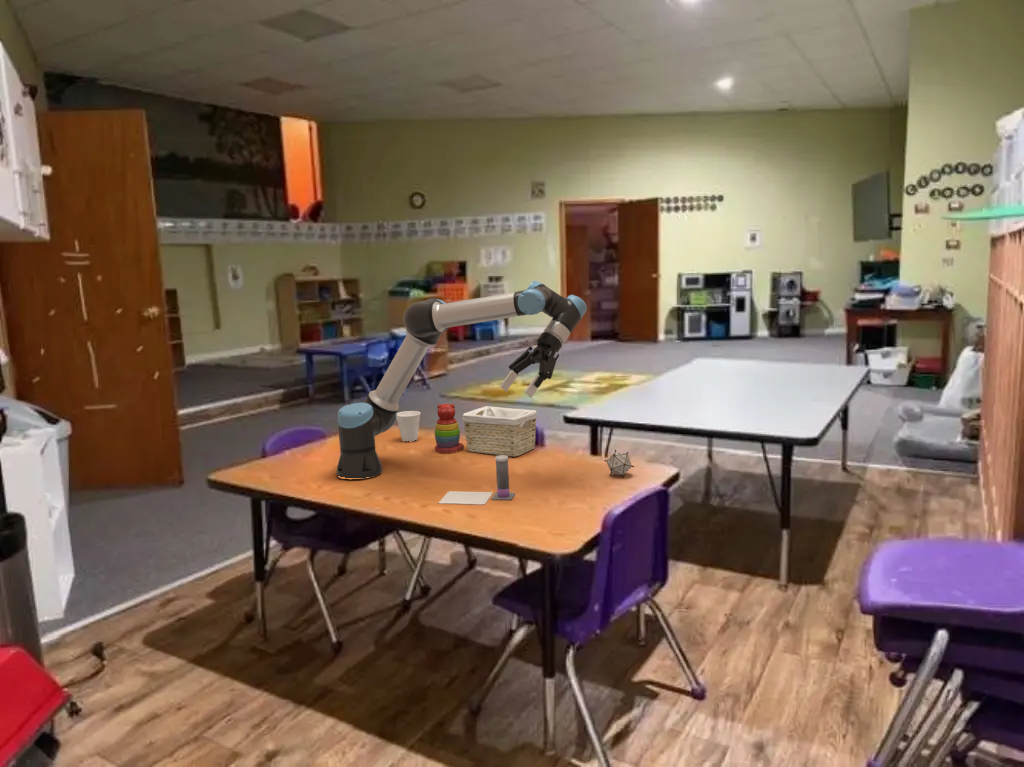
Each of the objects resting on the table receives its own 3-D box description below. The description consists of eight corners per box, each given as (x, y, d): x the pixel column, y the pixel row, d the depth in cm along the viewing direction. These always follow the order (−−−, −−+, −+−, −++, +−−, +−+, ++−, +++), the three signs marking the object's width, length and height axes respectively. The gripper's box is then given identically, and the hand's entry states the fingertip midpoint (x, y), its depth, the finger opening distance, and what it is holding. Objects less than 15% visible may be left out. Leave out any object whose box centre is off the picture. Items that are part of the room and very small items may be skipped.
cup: (393, 443, 294) (391, 416, 292) (401, 437, 304) (399, 410, 302) (418, 443, 292) (416, 416, 291) (425, 437, 302) (423, 410, 300)
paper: (438, 503, 220) (438, 502, 220) (448, 491, 231) (448, 491, 231) (484, 504, 218) (484, 504, 218) (493, 492, 228) (492, 492, 228)
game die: (625, 486, 242) (644, 462, 239) (610, 483, 235) (630, 459, 233) (608, 467, 247) (627, 444, 245) (594, 464, 241) (612, 440, 238)
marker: (496, 497, 223) (494, 458, 221) (498, 493, 226) (496, 454, 224) (508, 497, 222) (506, 458, 220) (510, 493, 225) (509, 455, 223)
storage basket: (462, 452, 278) (460, 413, 275) (487, 442, 291) (485, 404, 289) (516, 459, 265) (515, 418, 262) (540, 448, 278) (538, 409, 276)
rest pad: (491, 499, 222) (491, 498, 222) (495, 493, 228) (495, 492, 228) (511, 500, 221) (511, 499, 221) (515, 493, 226) (515, 492, 226)
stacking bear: (464, 446, 285) (462, 400, 282) (460, 453, 275) (457, 406, 272) (436, 447, 286) (434, 401, 283) (431, 454, 276) (428, 406, 273)
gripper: (584, 349, 228) (546, 404, 222) (536, 343, 248) (500, 393, 243) (570, 333, 224) (531, 389, 218) (523, 328, 244) (486, 379, 239)
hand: (515, 391), depth 230 cm, fingers open, 13 cm apart
